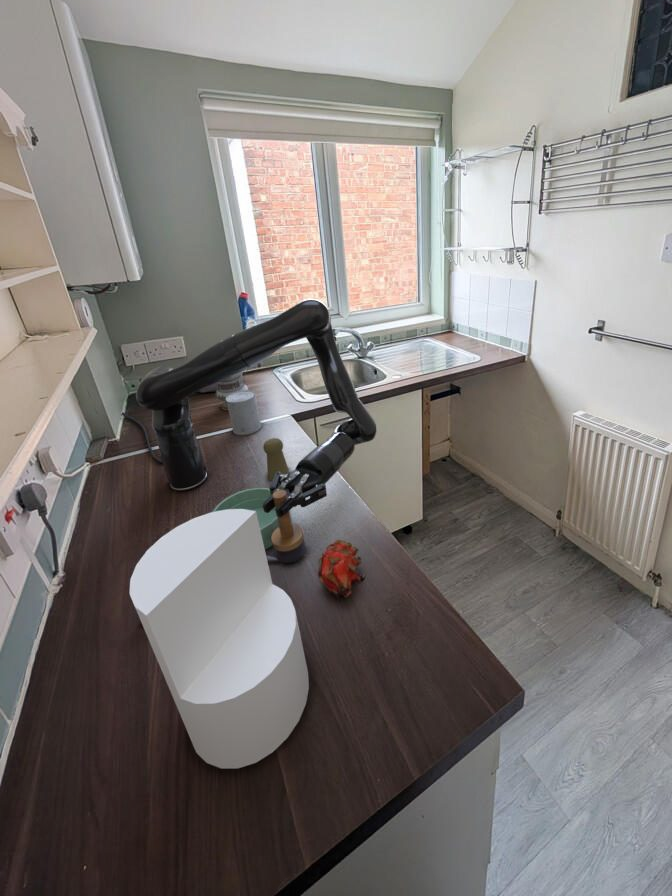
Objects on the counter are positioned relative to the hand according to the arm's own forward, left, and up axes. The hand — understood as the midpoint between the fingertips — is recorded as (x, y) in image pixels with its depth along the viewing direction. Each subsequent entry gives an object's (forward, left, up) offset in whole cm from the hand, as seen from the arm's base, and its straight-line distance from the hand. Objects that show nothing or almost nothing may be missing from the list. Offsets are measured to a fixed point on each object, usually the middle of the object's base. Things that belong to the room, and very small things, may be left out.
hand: (271, 511), depth 78 cm
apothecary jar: (-70, +56, -14) cm, 91 cm away
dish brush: (0, +3, -13) cm, 13 cm away
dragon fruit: (+14, +1, -14) cm, 20 cm away
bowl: (-13, +5, -14) cm, 19 cm away
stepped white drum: (+12, -22, -14) cm, 29 cm away
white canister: (-51, +43, -14) cm, 68 cm away
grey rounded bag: (-91, +68, -14) cm, 114 cm away
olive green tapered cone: (-22, +25, -14) cm, 36 cm away
